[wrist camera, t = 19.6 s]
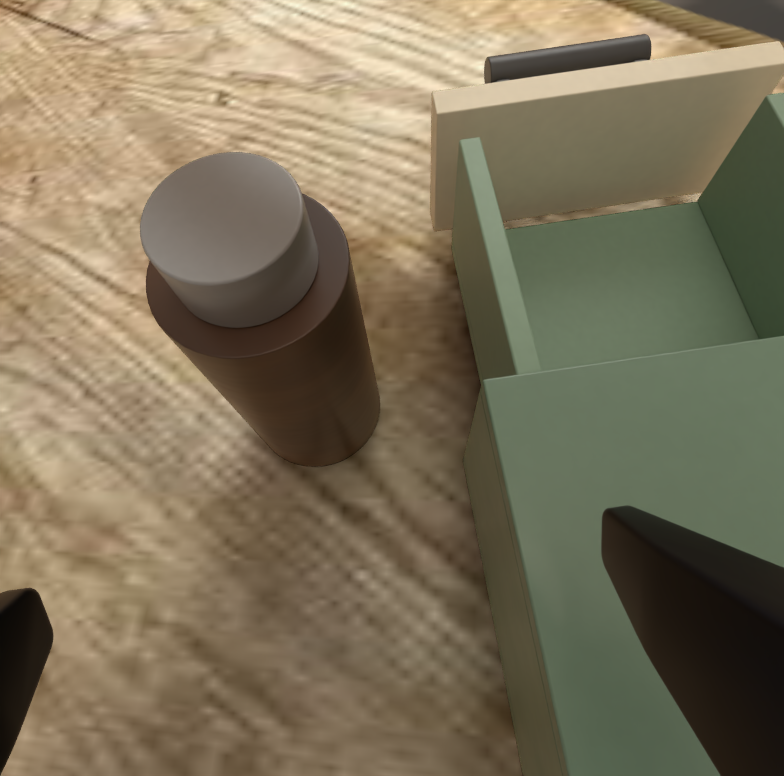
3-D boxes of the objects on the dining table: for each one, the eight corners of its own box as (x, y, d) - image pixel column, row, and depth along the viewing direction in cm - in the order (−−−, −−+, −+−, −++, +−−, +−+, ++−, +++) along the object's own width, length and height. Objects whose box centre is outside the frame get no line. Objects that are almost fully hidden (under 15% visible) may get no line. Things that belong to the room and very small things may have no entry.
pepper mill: (326, 492, 23) (223, 363, 11) (232, 419, 24) (55, 237, 13) (404, 394, 24) (386, 189, 13) (312, 330, 26) (219, 95, 14)
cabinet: (462, 459, 23) (482, 378, 15) (805, 409, 23) (1001, 302, 15) (546, 901, 17) (646, 1137, 9) (1001, 835, 17) (1473, 1014, 9)
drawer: (416, 148, 28) (414, 18, 22) (669, 111, 28) (737, -30, 22) (484, 481, 22) (508, 426, 15) (816, 432, 22) (974, 358, 15)
